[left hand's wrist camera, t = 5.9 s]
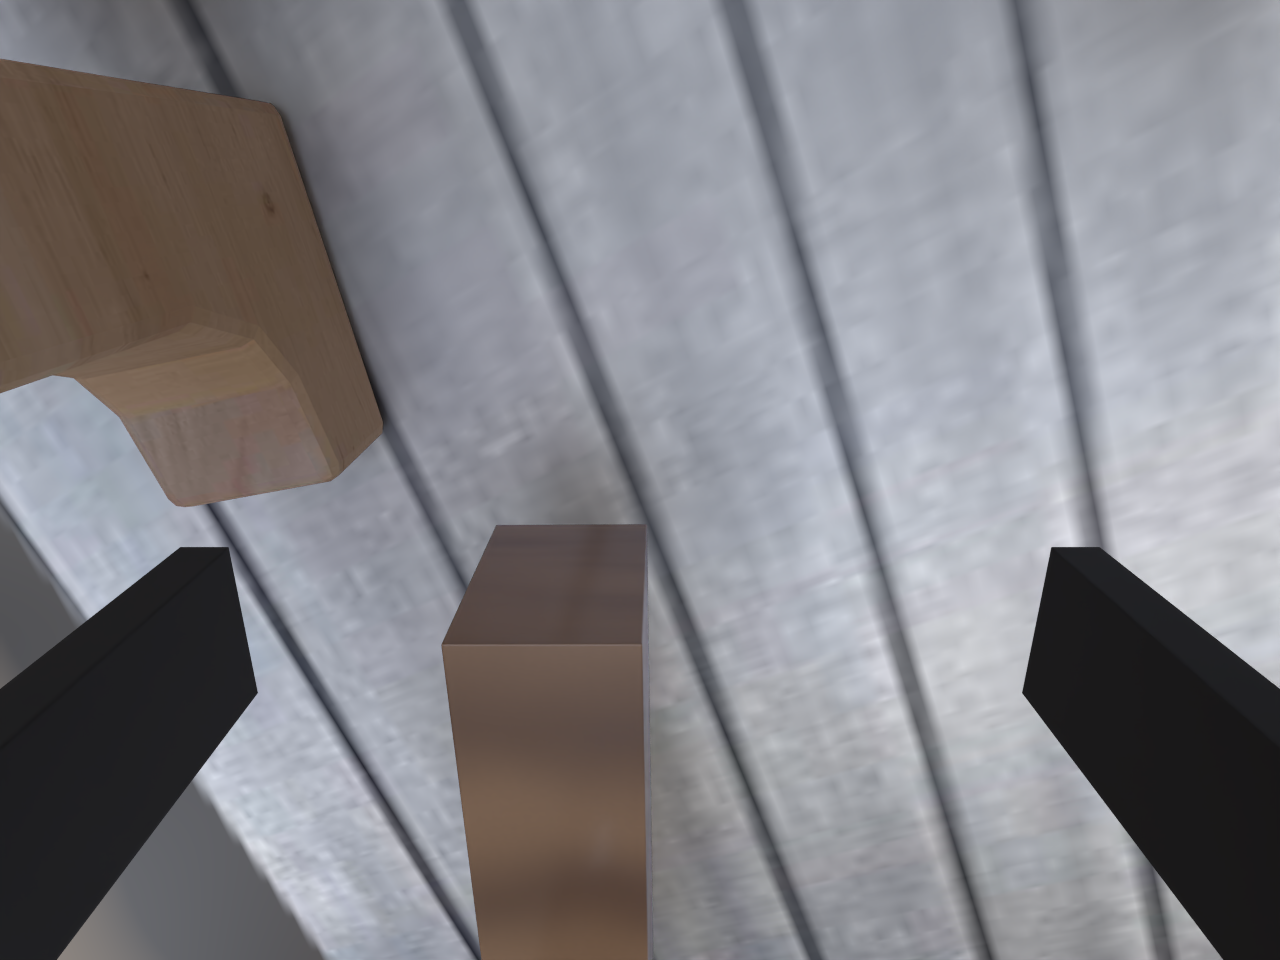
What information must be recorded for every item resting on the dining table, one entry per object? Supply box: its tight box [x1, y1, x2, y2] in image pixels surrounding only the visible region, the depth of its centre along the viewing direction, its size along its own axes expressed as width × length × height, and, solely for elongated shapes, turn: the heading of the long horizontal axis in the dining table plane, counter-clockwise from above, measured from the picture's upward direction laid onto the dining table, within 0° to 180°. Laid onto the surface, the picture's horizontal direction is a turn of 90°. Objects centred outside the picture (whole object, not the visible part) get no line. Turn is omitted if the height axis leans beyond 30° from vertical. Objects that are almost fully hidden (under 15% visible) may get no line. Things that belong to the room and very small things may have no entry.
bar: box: [441, 524, 653, 960], centre depth 33 cm, size 33×6×8 cm, turn 1°
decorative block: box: [0, 59, 383, 507], centre depth 22 cm, size 8×15×30 cm, turn 11°
